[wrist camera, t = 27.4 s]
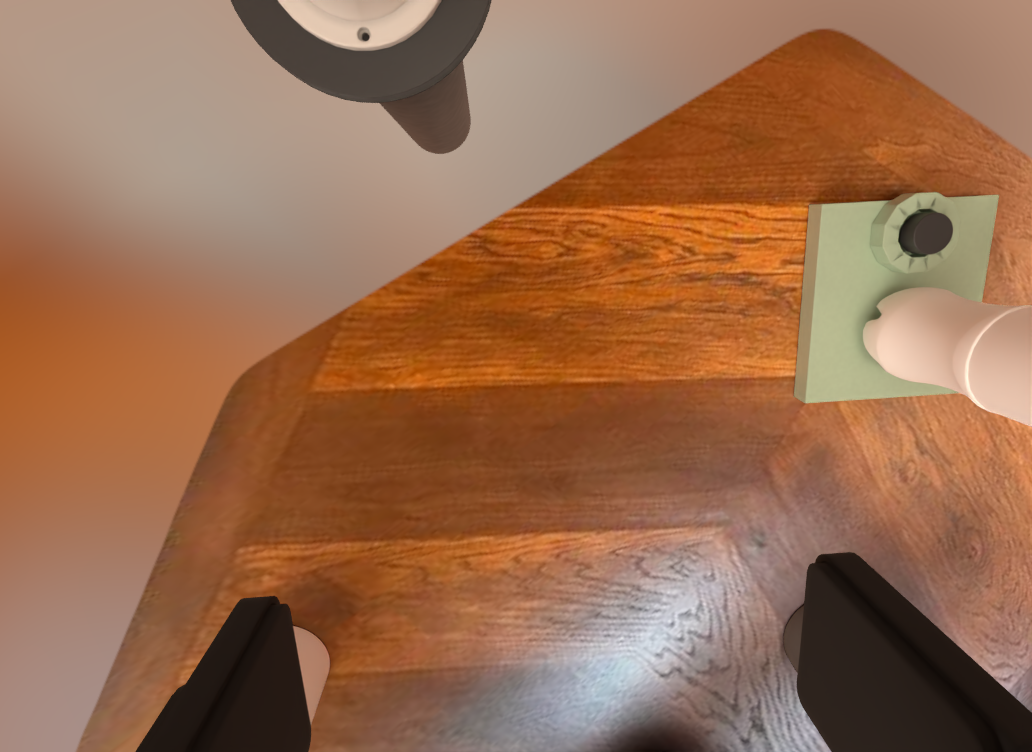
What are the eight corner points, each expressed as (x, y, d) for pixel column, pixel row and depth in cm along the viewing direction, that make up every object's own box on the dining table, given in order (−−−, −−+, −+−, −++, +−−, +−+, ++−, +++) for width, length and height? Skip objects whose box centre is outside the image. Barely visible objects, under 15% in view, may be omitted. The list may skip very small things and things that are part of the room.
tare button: (901, 213, 44) (916, 213, 42) (940, 211, 44) (956, 211, 42) (896, 254, 45) (911, 255, 43) (935, 252, 45) (950, 253, 43)
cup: (268, 709, 56) (187, 895, 41) (223, 644, 54) (120, 815, 39) (345, 678, 56) (293, 855, 40) (303, 611, 54) (231, 771, 38)
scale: (809, 198, 46) (834, 197, 43) (980, 189, 47) (1018, 187, 43) (793, 396, 51) (815, 409, 47) (950, 386, 51) (983, 398, 48)
